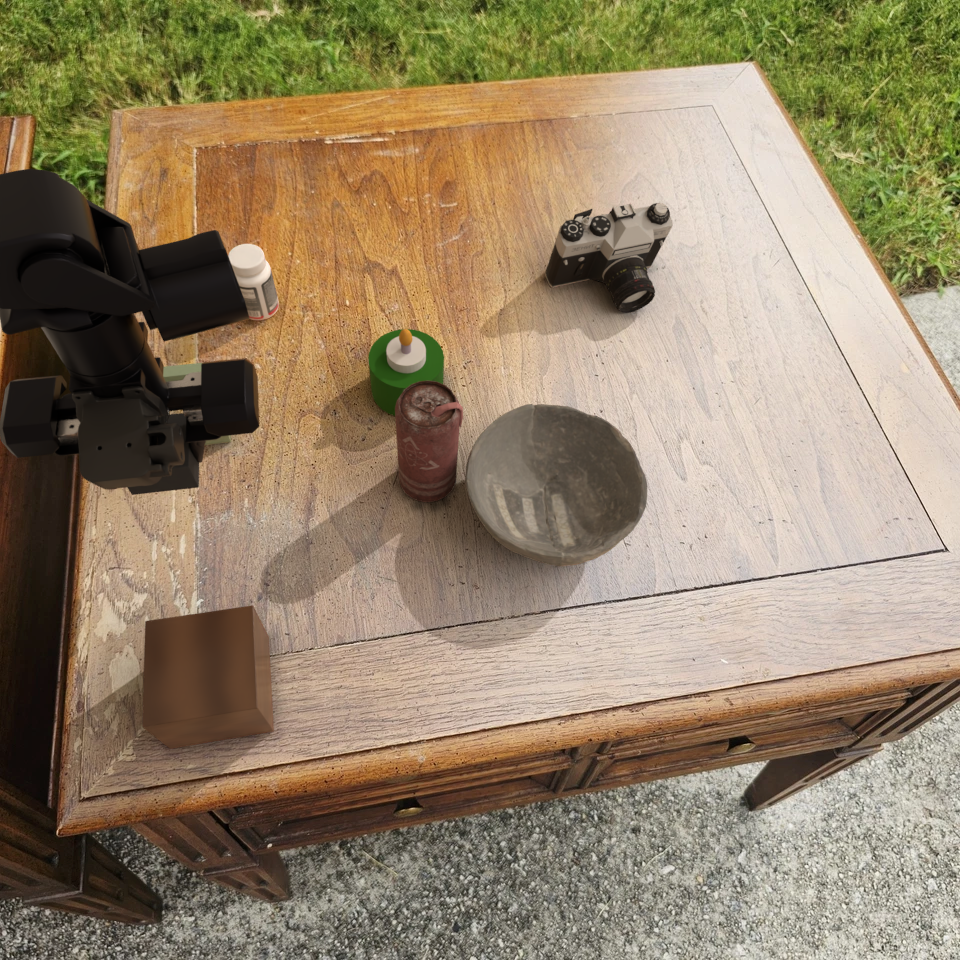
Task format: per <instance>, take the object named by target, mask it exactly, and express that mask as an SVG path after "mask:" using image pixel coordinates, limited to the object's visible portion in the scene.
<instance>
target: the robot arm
mask: <svg viewBox="0 0 960 960" xmlns="http://www.w3.org/2000/svg"><path fill="white" fill-rule="evenodd" d="M228 255H229V253H228V252H227V249H226V247H225V244H224V242H223V239H222V236H221V234H220V231H218V230H216V229H212V230H207V231H204V232H199V233H197V234H195V235H192V236H190V237H187V238H185V239H184V238H183V239H181V240H175V241H172V242H167V243H163V244H158V245H155V246H151V247H146V248H141V249H140V248H139V246H138V242H137V240H136V237H135V234H134V230H133V227H132V224H131V223H130V222H128V221H126V220H125V219H123V218H121V217H119V216H117V215H115V214H114V213H112V212H111V211H108V210H106V209H105V208H103V207H102V206H99V205H98V204H97V203H94V202H92V201H90V200H89V199H87V198H86V196H85V195H84V194H83V192H81V191H80V189H79V188H78V187H77V186H76V185H74V184H72V183H70V182H69V181H68V180H66V179H64V178H62V177H61V176H60V174H58V173H56V172H53V171H50V170H46V169H36V168H26V169H18V170H14V171H8V172H4V173H0V328H1V331H2V333H3V334H5V335H9V336H10V335H16V334H19V333H23V332H27V331H31V330H34V329H39V328H41V330H42V331H43V333H44V335H45V336H46V338H47V340H48V341H49V343H50V345H51V346H52V348H53V349H54V351H55V352H56V354H57V356H58V357H59V359H60V360H61V362H62V363H63V365H64V367H65V368H66V370H67V371H68V373H69V383H67V381H66V380H65V378H64V377H63V375H62V374H61V375H60V374H59V375H51V376H38V377H30V378H29V377H27V378H19V379H17V378H16V379H14V380H10V381H9V383H8V384H7V386H6V387H5V389H4V394H3V401H2V408H1V412H0V442H2V444H3V445H4V446H5V448H6V449H7V450H8V451H9V452H10V453H11V454H12V455H13V456H15V457H16V458H17V459H20V458H28V457H38V456H39V457H40V456H49V455H54V454H56V455H57V456H60V457H67V456H74V455H75V456H76V455H78V457H79V458H78V459H79V473H80V475H81V477H82V478H83V479H84V480H85V481H87V482H89V483H90V484H93V485H95V486H97V487H99V488H102V490H107V491H110V490H111V491H112V490H117V489H124V488H127V487H134V486H148V485H153V484H155V483H157V482H158V481H159V480H160V479H161V478H162V477H164V476H171V475H172V467H173V466H175V465H183V464H184V461H185V454H184V441H183V432H182V429H181V427H180V426H179V425H178V424H176V423H171V424H168V418H169V417H170V414H171V412H175V411H182V413H184V415H185V417H186V435H185V442H186V443H190V446H191V449H192V453H193V456H194V457H195V459H196V460H197V462H198V463H199V464H200V463H203V460H204V454H205V447H206V445H205V443H206V441H209V440H217V439H219V438H221V437H222V436H230V435H231V436H237V435H238V436H239V435H249V434H253V433H255V431H256V430H258V429H259V428H260V408H259V407H260V404H259V377H258V373H257V370H256V366H255V364H254V363H253V362H252V361H251V360H249V359H248V358H245V357H244V358H234V359H223V360H212V361H211V360H210V361H203V362H201V363H202V364H201V372H193V373H189V374H187V375H186V376H185V377H184V379H183V380H179V381H168V382H166V381H165V379H164V377H163V370H164V367H165V365H164V363H163V361H162V358H161V357H160V356H159V357H155V354H154V353H153V351H152V349H151V347H150V345H149V342H148V341H149V340H148V339H149V330H150V331H152V330H156V329H157V330H158V333H159V335H160V337H161V339H162V341H163V342H164V343H165V342H168V341H173V340H177V339H181V338H184V337H189V336H193V335H196V334H200V333H203V332H208V331H211V330H215V329H218V328H219V329H220V328H222V327H227V326H230V325H234V324H237V323H242V322H246V321H250V319H249V314H248V310H247V307H246V303H245V300H244V297H243V295H242V292H241V289H240V286H239V284H238V281H237V278H236V276H235V273H234V270H233V268H232V265H231V262H230V260H229V257H228ZM138 313H142V316H143V318H144V320H145V321H138V319H137V316H136V314H138ZM148 329H149V330H148ZM67 386H68V387H67ZM67 388H68V391H69V392H70V393H66V394H64V395H63V393H64V392H65V391H66V390H67ZM61 395H62V397H61Z"/></svg>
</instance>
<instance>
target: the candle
mask: <svg viewBox="0 0 960 960" xmlns="http://www.w3.org/2000/svg"><path fill="white" fill-rule="evenodd" d="M367 360H368V371H369V380H370V381H369V382H370V391H371V396H372V399H373V401H374V403H375V404H376V405H377V407H379V408H380V410H382V411H383V412H385V413H387V414H389V415H391V416H393V417H395V406H396V402H397V400H398V398H399V397H400V395H401V394H402V392H403V391H404V389H406V388H407V387H408V386H410V385H411V384H414V383H416V382H419V381H427V380H429V381H436V382H439V383H441V384H444V379H445V378H444V375H445V374H444V373H445V354H444V350H443V348H442V346H441V345H440V343H439V342H438V341H437V340H436V339H435V338H434V337H433V336H432V335H430V334H428V333H426V332H423V331H421V330H416V329H412V328H411V329H410V328H409V329H408V328H401V329H395V330H392V331H388V332H386V333H384V334H383V335H381V336H380V337H378V338H377V339H376V340H375V341H374V342H373V344H372V345H371V346H370V349H369V351H368V358H367Z"/></svg>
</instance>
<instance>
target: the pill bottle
mask: <svg viewBox="0 0 960 960" xmlns="http://www.w3.org/2000/svg"><path fill="white" fill-rule="evenodd" d="M228 257H229V260H230V262H231V265H232V268H233V270H234V273H235V276H236V278H237V281H238V284H239V286H240V289H241V292H242V295H243V297H244V300H245V303H246V307H247V310H248V314H249V320H251V321H264V320H267V319H270V318H271V317H273V316H274V315H275V314H276V313H277V312H278V311H279V307H280V302H279V297H278V292H277V288H276V284H275V280H274V277H273V276H274V275H273V271H272V268H271V265H270V263H269V262H268V261H267V260H266V256H265V253H264V251H263V249H262V247H260V246H258V245H257V244H254V243H242V244H239V245H236V246H234V247H233V248H231V250H230V251H229V253H228Z"/></svg>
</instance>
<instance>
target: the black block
mask: <svg viewBox="0 0 960 960" xmlns="http://www.w3.org/2000/svg"><path fill="white" fill-rule="evenodd" d="M171 423H176V424H178V425H179V426H180V427H181V429H182V432H183V441H184V454H185V461H184V464H183V465H175V466H173V467H172V475H171V476H164V477H162V478H161V479H160V480H159V481H158V482H157V483H155V484H153V485H148V486H134V487H126V488H127V490H128V491H129V493H130V494H131V495H132V496H135V495H136V496H137V495H143V494H145V495H146V494H153V493H161V492H163V493H164V492H172V491H179V490H180V491H181V490H189V489H190V490H191V489H199V488H200V463H198V462H197V460H196V459H195V457H194V456H193V453H192V449H191V446H190V443H186V442H185V435H186V417H185V415H184V413H183V412H178V413H170V417H169V418H168V424H171Z"/></svg>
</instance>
